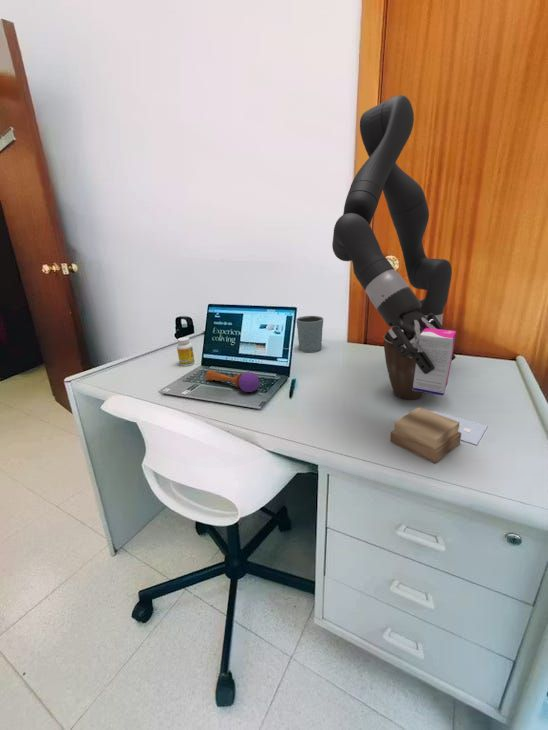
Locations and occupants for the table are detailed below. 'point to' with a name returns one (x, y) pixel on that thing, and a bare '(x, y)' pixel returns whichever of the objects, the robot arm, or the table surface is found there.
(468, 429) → the page
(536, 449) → the table surface
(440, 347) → the supplement box
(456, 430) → the base block
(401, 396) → the plant pot
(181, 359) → the supplement bottle
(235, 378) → the kendama
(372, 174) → the robot arm
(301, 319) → the gray cup
